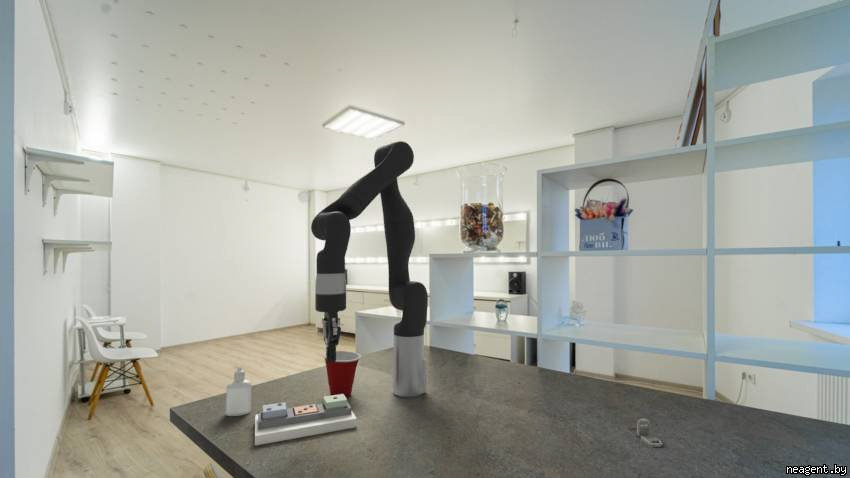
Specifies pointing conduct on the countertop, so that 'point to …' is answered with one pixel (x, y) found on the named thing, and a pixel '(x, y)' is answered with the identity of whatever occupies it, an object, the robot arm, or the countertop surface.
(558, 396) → the countertop surface
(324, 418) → the keypad
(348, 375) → the plastic cup
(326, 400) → the key one
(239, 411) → the eye dropper bottle
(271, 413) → the key two
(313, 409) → the key three
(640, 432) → the strap clip
